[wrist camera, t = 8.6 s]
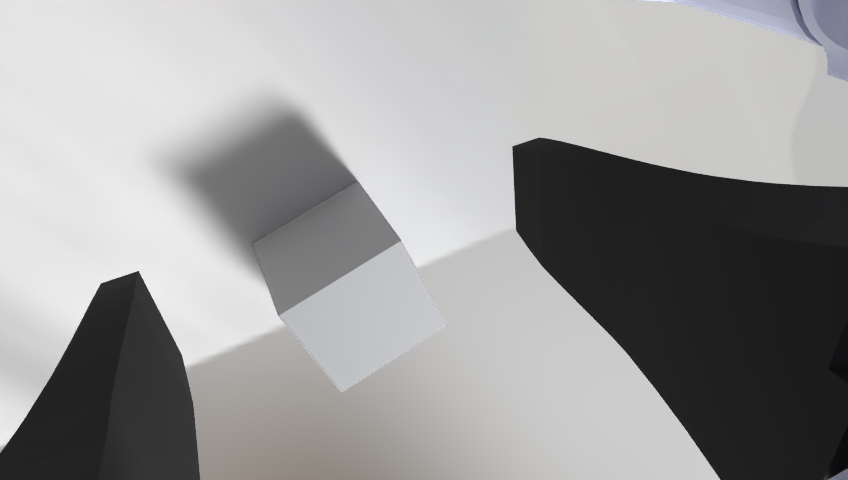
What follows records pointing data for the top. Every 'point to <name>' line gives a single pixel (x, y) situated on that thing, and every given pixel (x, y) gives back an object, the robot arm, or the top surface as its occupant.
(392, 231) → the grey cube
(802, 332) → the robot arm
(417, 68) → the top surface
